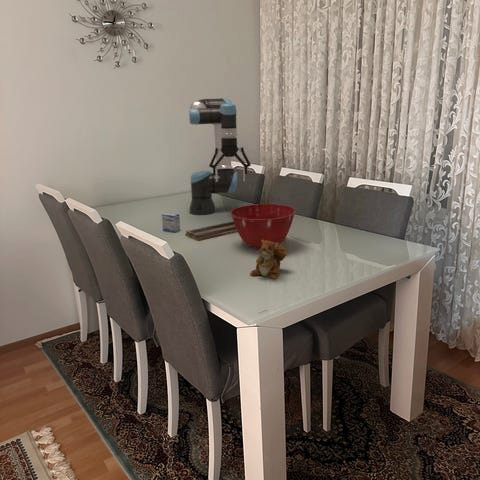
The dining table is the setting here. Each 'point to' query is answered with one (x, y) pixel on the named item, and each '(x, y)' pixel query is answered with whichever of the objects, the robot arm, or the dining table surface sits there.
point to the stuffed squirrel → (269, 259)
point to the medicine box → (171, 222)
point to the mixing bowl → (263, 223)
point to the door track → (212, 231)
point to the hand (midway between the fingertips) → (230, 181)
